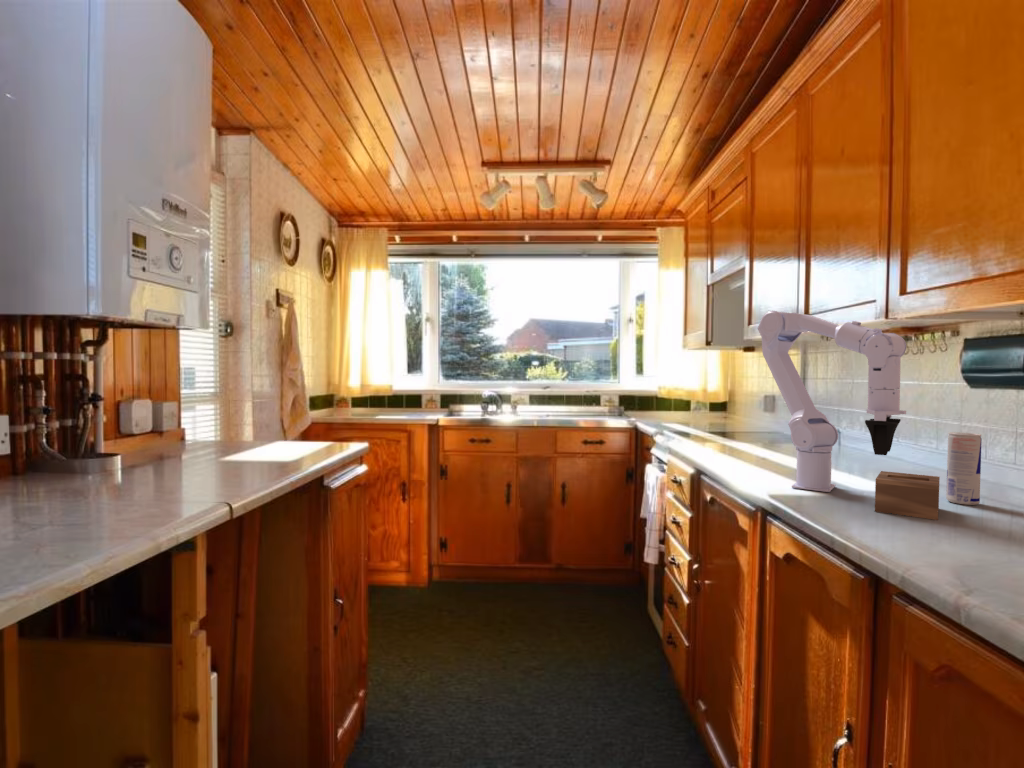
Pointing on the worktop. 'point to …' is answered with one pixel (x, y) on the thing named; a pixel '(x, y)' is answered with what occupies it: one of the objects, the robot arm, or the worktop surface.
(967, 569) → the worktop surface
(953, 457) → the white cylindrical canister
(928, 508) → the money box
